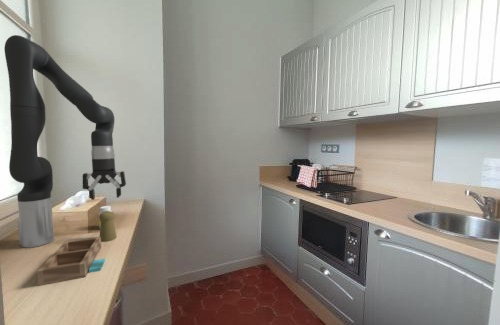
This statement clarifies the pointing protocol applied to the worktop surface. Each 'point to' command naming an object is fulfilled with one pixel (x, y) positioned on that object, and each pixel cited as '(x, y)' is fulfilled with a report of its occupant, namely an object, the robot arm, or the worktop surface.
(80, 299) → the worktop surface
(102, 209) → the supplement bottle
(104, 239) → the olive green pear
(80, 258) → the wooden divided tray
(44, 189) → the robot arm
